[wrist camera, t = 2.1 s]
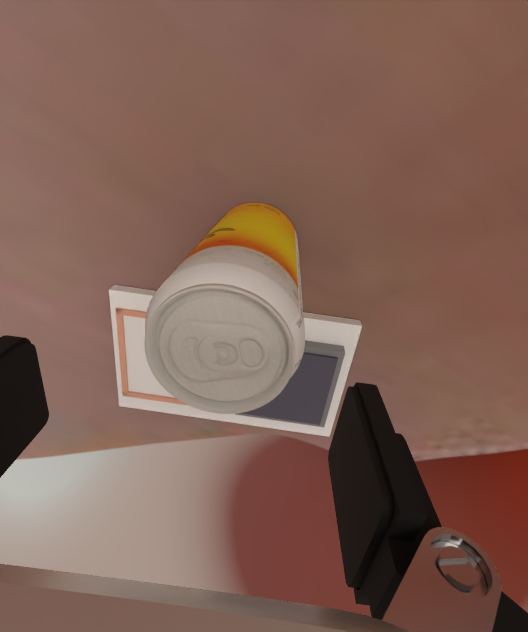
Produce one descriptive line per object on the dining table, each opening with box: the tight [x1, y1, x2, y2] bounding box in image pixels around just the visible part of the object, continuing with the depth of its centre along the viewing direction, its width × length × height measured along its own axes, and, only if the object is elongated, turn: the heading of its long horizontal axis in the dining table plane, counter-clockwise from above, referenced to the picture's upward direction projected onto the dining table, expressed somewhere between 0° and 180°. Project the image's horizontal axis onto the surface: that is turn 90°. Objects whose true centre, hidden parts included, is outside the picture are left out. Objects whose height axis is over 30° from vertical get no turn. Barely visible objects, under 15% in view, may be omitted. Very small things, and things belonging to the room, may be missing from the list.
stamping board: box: [109, 285, 362, 437], centre depth 29 cm, size 20×12×2 cm, turn 83°
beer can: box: [144, 203, 305, 414], centre depth 19 cm, size 6×6×15 cm
